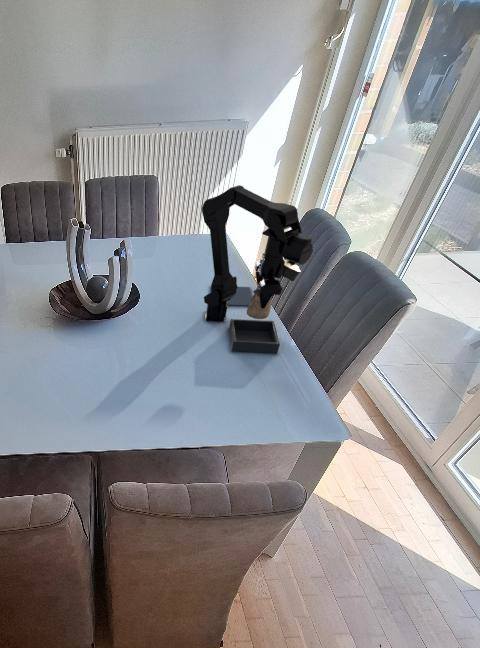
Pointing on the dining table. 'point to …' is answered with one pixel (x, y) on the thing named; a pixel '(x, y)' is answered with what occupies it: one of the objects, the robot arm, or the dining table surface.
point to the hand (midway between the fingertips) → (261, 302)
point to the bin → (253, 336)
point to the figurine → (258, 306)
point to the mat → (240, 297)
